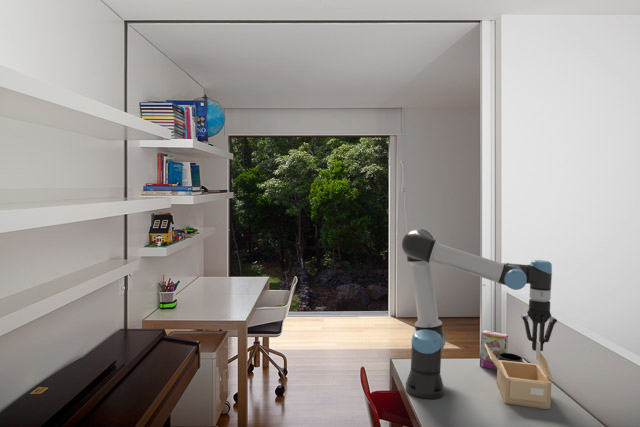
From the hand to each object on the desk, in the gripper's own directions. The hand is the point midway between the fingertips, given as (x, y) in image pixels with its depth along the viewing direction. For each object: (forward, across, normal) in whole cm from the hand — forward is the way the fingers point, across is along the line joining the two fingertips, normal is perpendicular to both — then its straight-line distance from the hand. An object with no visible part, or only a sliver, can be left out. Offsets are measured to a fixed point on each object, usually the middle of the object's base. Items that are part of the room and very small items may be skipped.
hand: (537, 358), depth 178 cm
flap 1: (+2, -16, 0) cm, 16 cm away
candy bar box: (+16, -12, +28) cm, 34 cm away
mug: (+16, -5, +20) cm, 26 cm away
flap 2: (+1, +2, 0) cm, 3 cm away
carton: (+16, -5, 0) cm, 16 cm away
